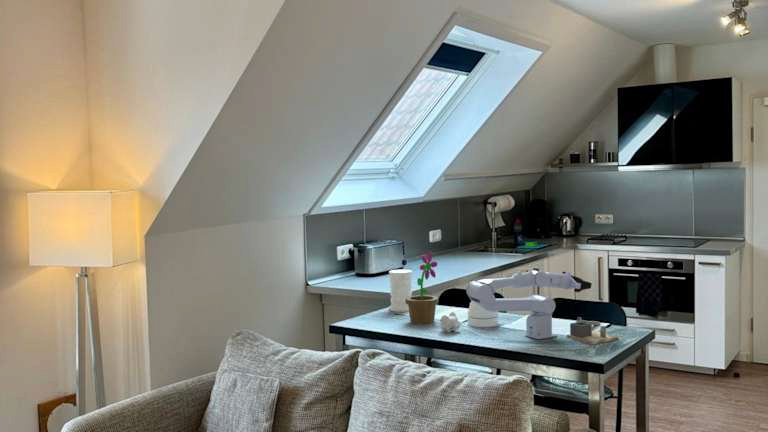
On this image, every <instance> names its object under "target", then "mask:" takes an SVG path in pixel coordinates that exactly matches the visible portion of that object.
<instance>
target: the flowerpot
mask: <svg viewBox="0 0 768 432" xmlns="http://www.w3.org/2000/svg"><path fill="white" fill-rule="evenodd" d="M420 257H421V261H422V262H423V263H424V264H421V265H420V266H419V270H421V271H422V272H421V273H422V274H421V278H417V281H416V282H417V285H418V286H419V287H420V295H411V296H409V297H406V299H405V303H406V304H408V308H409V311H408V313H409V319H410V323H412V324H414V325H415V324H416V325H427V324H429V325H430V324H433V323H434V322H435V316H436V306H437V304H439V297H438V296H436V295H428V293H429V291H428V290H427V289H426V288H425V287H424V278H425V280H428V279H429V278H430V276H431V277H432V278H436V277H437V275H436V272H435V271H434V269H433V268H435V267H437V266H438V262H437V261H433V260H432V258H433V254H432V252H431V251H429V252H428V254H427V256H426V255H424V254H421V256H420ZM426 293H427V295H426ZM424 294H425V295H424Z"/></svg>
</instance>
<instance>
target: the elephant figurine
mask: <svg viewBox="0 0 768 432" xmlns="http://www.w3.org/2000/svg"><path fill="white" fill-rule="evenodd" d="M439 322H440V329H441V332H443V333H446V332H447V333H451V331H452V332H453V331H458V330H459V329H460V328H461V327H463V324H462V323H460V322H459V319H458V317H457V315H456V313H455V312H453V311H451V312H450V313H449V314H448V316H447V315H442V316H441V317H440V319H439ZM460 326H461V327H460Z"/></svg>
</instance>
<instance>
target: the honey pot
mask: <svg viewBox="0 0 768 432" xmlns="http://www.w3.org/2000/svg"><path fill="white" fill-rule="evenodd" d="M477 282H478V283H480V282H479V281H477ZM494 298H495V299H496V297H495V295H494ZM468 324H469V325H468ZM467 325H468V326H470V325H471V327H477V328H478V327H479V328H491V327H496V326H498V325H499V311H496V312H491V311H487V310H485V309H484V308H482V307H481V306H480V305H478V304H477V303H475V302H474V301H472V300H470V302H469V307H468V310H467Z"/></svg>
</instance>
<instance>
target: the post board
mask: <svg viewBox="0 0 768 432" xmlns="http://www.w3.org/2000/svg"><path fill="white" fill-rule="evenodd" d="M567 337H568V338H567ZM566 338H567V339H570V338H572V339H571V340H574V339H575V340H574V341H577V340H578V341H577V342H581V343H584V342H585V344H588V345H595V344H601V343H606V342H612V341H618V340H619V339H620V338H619V336H616V335H613V334H609V333H607V326H606V325H600V331H598V330H596V329H595V330H593V329H592V336H588V337H582V338H580V337H576V336H573V335H570V333H569V334H566Z"/></svg>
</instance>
